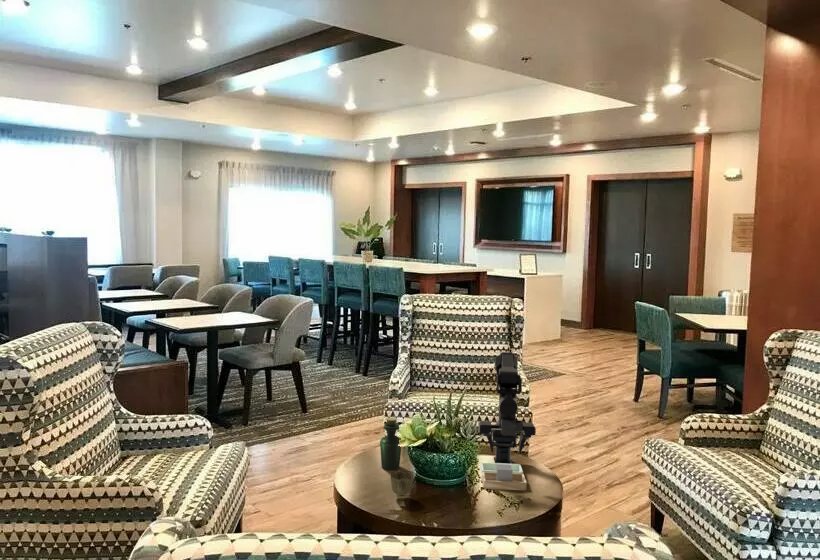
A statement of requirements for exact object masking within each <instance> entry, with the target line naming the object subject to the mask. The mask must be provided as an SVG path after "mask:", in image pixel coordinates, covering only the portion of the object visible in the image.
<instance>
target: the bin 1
mask: <svg viewBox="0 0 820 560" xmlns="http://www.w3.org/2000/svg"><path fill="white" fill-rule="evenodd" d="M496 464H500V465H511V467H512V470H513V471H512V473H518V474H524V471H523V468H522V465H521V463H512V464H505V463H495V462H480V474H481V476H482V472H495V473H496Z"/></svg>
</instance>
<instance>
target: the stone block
mask: <svg viewBox="0 0 820 560" xmlns="http://www.w3.org/2000/svg"><path fill="white" fill-rule="evenodd" d="M512 471H513V470H512V467H511V465H500V464H496V481H511V482H512Z"/></svg>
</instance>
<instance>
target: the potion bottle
mask: <svg viewBox="0 0 820 560" xmlns="http://www.w3.org/2000/svg"><path fill="white" fill-rule="evenodd" d="M397 419H398V418H396V417H386V423H385V424H384V425H383V430H385V432H386V435H385V436H384V437H382V438H381V439H380V440H379V447H380V450H379V451H380V463H381V464H380V465H381V468H382V469H384V470H385V471H386V470H387V471H396V470H398V469H399V468H400V462H401V453H402V446H401V447H400V446H398V444H399V438H400V437H398V435H396V434H397V433H396V432H397V431H398V430H399V429H400V425H399V424H398V423H397Z"/></svg>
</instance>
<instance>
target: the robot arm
mask: <svg viewBox="0 0 820 560" xmlns="http://www.w3.org/2000/svg"><path fill="white" fill-rule="evenodd" d="M518 363H519V359H518V357H516V356H515V354H514V353H513V352H509V351H508V352H507V351H502V352H500V353H499V355H497V356H496V357H494V371H495V372H496V394H498V395H499V397H498V398H499V399H498V420H497V422H496V423H495V424H492V423H491V421H490V420H488V421H487V420H480V421H479V422H478V433H479V434H482V436H484V437H486V439H487V440H488V444H489V447H490V450H491V453H492V454H493V453H494V447H495V456H493V463H505V464H513V462H512V457H511V455H512V453H511V451H512V448H513V449H515V448H516V447H517V438H518V436H517V433H520V436H519V442H518V443H519V444H518V454H519V455H520V454H522V450H523V448H524V446H525V443H526V441H527V440H528V439H529V438H532V436H533V437H534V436H536V435H537V434H536V426H535V425H534V423H533V422H523V420H519V419H518V420H517V412H518V408H519V405H518V400H517V395H521V392H522V390H523V385H522V384H523V383H522V382H523V381H522V376H521V375H520V374H519V373H518V372H519V371H518V368H519V365H518Z"/></svg>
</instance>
